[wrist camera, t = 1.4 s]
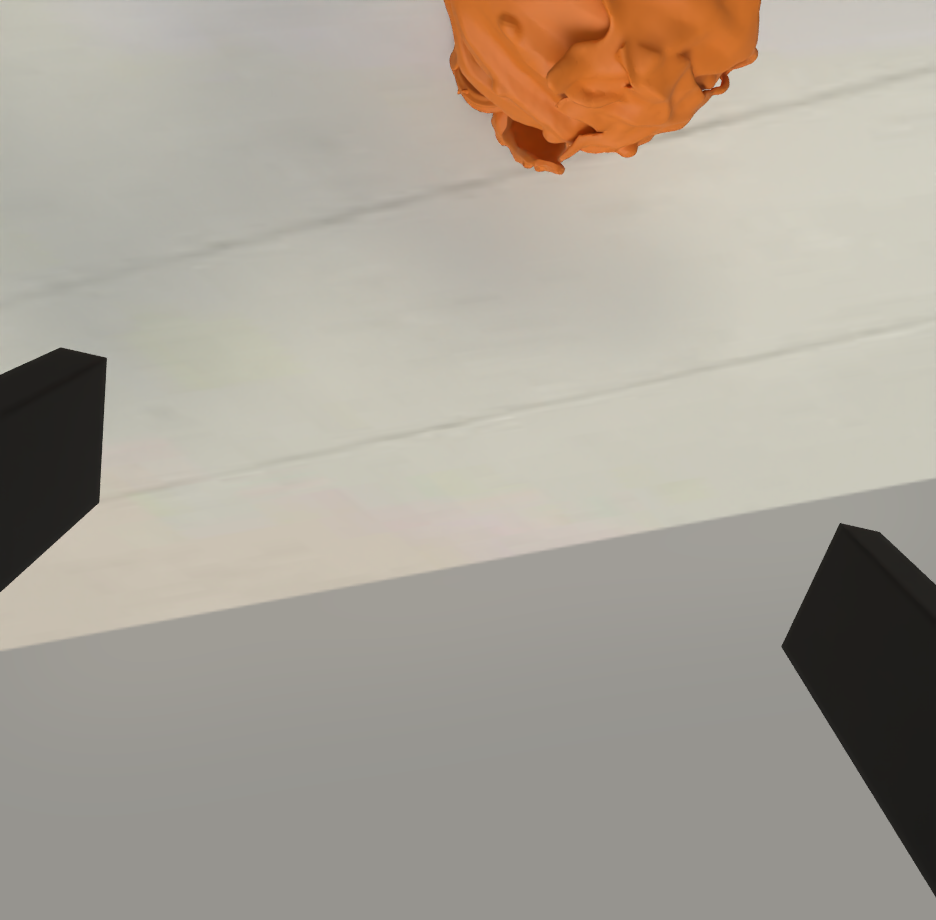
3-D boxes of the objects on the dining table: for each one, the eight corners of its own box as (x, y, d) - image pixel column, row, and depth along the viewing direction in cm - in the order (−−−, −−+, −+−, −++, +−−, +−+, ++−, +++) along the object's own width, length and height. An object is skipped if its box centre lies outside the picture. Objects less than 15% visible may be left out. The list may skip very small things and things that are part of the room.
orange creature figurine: (483, -158, 32) (517, -466, 15) (710, -48, 33) (961, -218, 17) (398, 113, 36) (354, 102, 19) (604, 198, 38) (723, 254, 21)
